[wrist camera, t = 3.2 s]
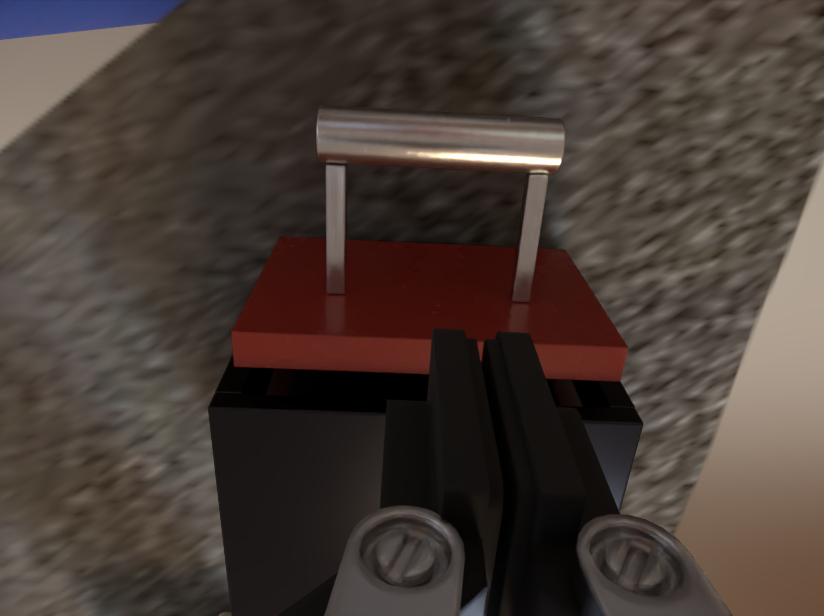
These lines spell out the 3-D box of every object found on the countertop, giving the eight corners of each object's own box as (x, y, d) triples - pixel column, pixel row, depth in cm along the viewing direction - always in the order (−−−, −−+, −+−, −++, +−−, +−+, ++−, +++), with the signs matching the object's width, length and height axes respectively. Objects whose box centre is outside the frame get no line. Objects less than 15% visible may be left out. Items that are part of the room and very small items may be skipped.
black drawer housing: (270, 272, 26) (206, 407, 18) (566, 285, 27) (645, 423, 18) (284, 527, 33) (241, 716, 24) (521, 534, 33) (563, 722, 25)
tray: (272, 80, 22) (211, 119, 15) (592, 98, 22) (678, 144, 15) (290, 495, 31) (257, 643, 24) (521, 502, 31) (555, 649, 24)
